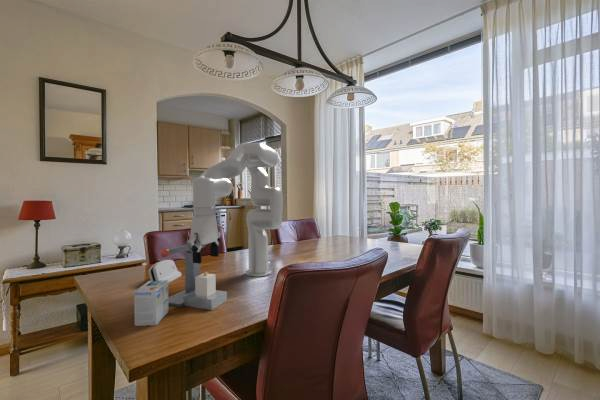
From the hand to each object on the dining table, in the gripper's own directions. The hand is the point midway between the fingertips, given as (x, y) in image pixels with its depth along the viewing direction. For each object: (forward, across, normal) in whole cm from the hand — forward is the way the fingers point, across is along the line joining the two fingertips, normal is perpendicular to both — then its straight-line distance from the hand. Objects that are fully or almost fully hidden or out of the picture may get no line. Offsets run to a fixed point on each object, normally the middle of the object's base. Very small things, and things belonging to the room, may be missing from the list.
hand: (206, 259), depth 108 cm
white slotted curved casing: (+17, -16, -35) cm, 42 cm away
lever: (-1, -3, -13) cm, 13 cm away
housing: (+12, +1, 0) cm, 12 cm away
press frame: (+16, 0, -4) cm, 16 cm away
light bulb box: (+15, +18, -8) cm, 25 cm away
